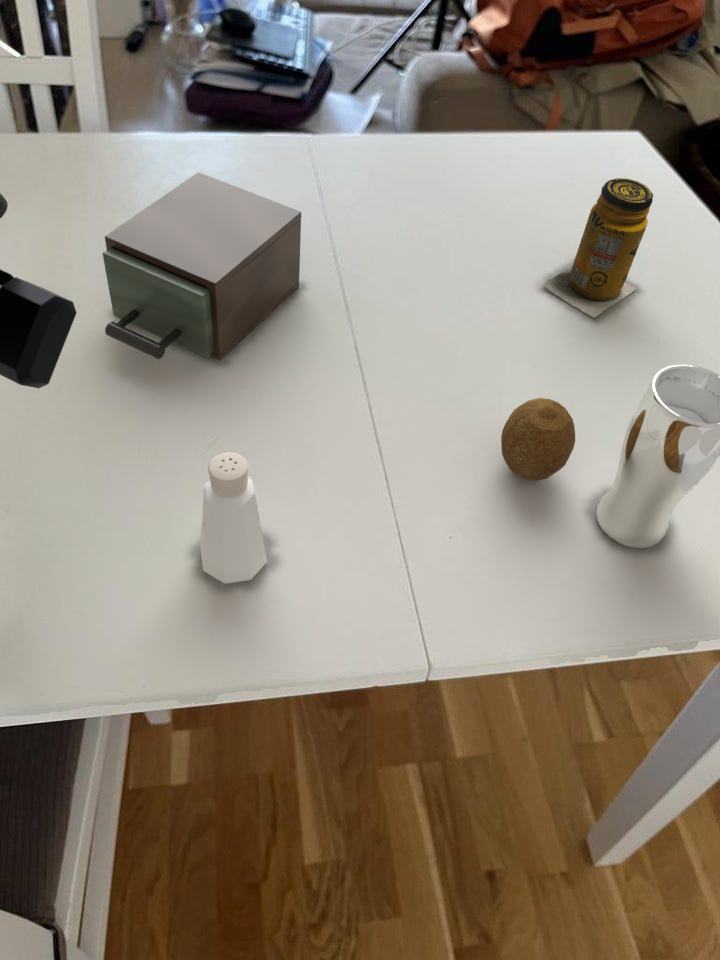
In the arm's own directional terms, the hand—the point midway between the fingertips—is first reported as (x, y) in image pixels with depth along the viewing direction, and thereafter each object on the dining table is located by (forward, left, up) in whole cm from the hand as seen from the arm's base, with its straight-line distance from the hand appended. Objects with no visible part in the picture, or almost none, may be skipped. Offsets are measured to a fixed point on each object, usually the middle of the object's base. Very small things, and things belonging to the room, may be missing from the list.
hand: (28, 319), depth 64 cm
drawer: (+13, +14, -11) cm, 22 cm away
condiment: (+57, +14, -12) cm, 60 cm away
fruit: (+40, -11, -12) cm, 44 cm away
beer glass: (+47, -18, -12) cm, 52 cm away
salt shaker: (+13, -16, -12) cm, 24 cm away
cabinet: (+15, +17, -12) cm, 26 cm away
